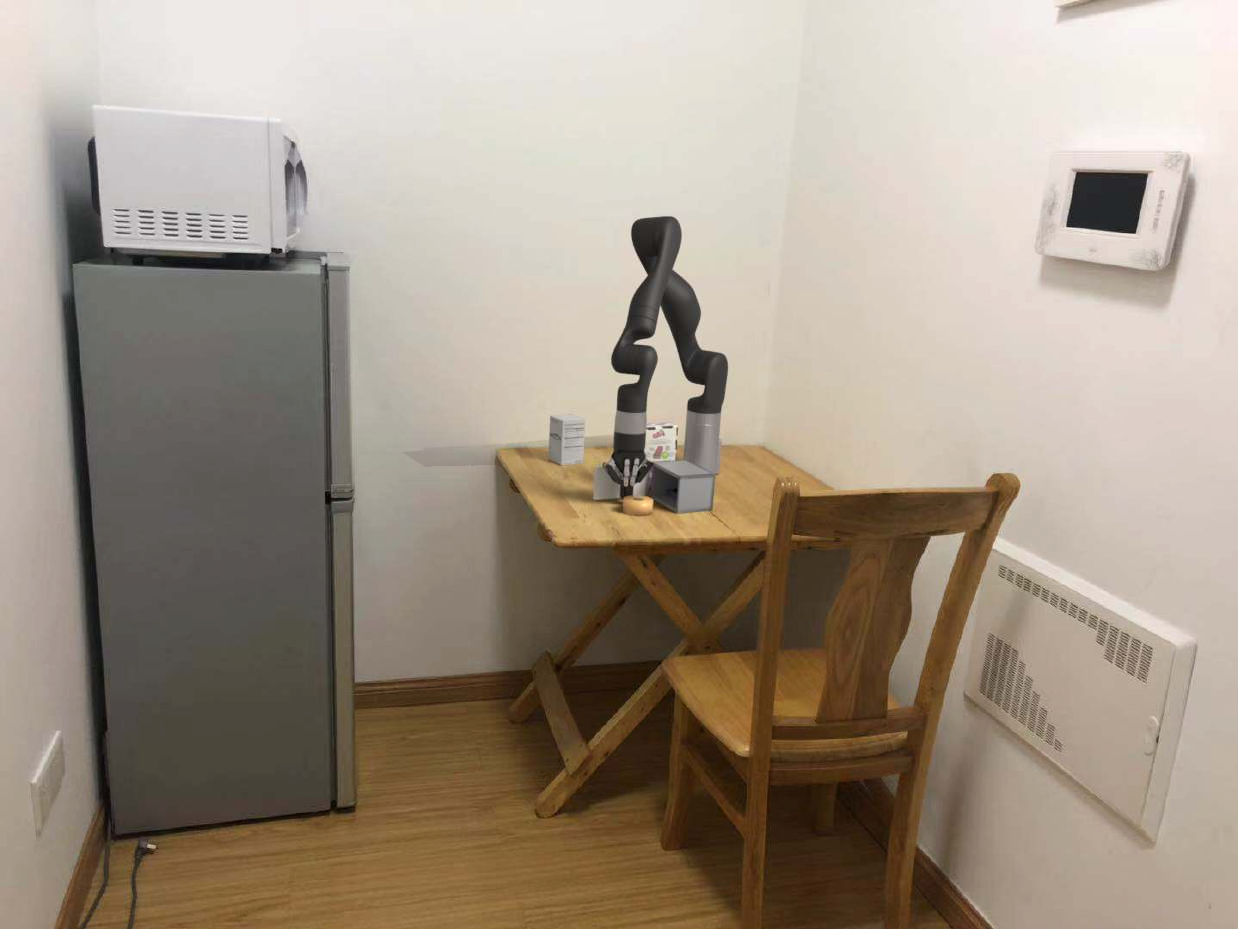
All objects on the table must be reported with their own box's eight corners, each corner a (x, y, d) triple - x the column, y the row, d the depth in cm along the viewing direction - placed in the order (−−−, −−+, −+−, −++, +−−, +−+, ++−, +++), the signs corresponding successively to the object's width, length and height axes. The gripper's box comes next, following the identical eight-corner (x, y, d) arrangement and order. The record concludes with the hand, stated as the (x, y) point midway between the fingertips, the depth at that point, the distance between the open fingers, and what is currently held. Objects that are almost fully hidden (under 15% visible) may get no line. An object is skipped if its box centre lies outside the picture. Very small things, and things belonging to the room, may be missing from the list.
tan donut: (644, 506, 237) (644, 494, 236) (657, 514, 231) (658, 502, 230) (617, 508, 234) (618, 496, 233) (630, 517, 228) (631, 504, 227)
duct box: (683, 494, 249) (686, 459, 247) (712, 510, 237) (715, 473, 234) (650, 497, 245) (652, 461, 242) (677, 513, 233) (680, 476, 230)
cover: (646, 496, 246) (648, 462, 244) (649, 497, 244) (651, 464, 242) (592, 500, 239) (594, 466, 237) (594, 502, 238) (596, 467, 236)
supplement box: (547, 459, 276) (549, 414, 273) (570, 457, 280) (572, 413, 277) (560, 465, 270) (562, 420, 267) (584, 463, 274) (586, 418, 271)
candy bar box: (665, 483, 258) (669, 421, 254) (675, 488, 254) (679, 425, 250) (627, 486, 253) (631, 423, 249) (636, 491, 249) (640, 427, 245)
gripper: (648, 424, 239) (643, 494, 243) (598, 426, 233) (594, 497, 238) (662, 431, 233) (657, 502, 237) (611, 433, 227) (607, 506, 231)
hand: (625, 500), depth 237 cm, fingers closed
